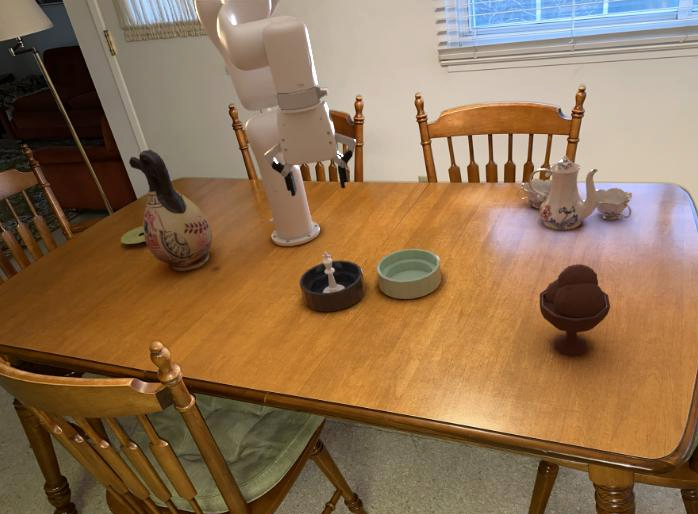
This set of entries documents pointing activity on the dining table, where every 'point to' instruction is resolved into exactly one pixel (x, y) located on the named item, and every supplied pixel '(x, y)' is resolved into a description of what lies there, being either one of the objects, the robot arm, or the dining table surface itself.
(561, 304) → the ice cream bowl
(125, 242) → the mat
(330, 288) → the chess piece
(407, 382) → the dining table surface
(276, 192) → the robot arm
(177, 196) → the ceramic jug
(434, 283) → the green bowl
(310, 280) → the dark bowl
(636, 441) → the dining table surface
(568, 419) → the dining table surface
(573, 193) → the chinaware
